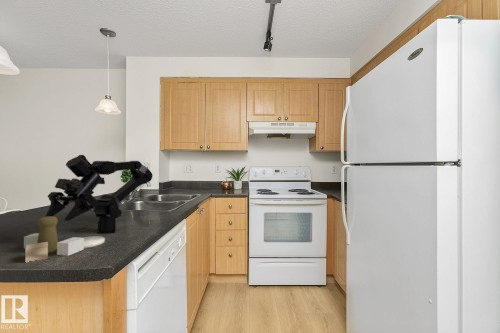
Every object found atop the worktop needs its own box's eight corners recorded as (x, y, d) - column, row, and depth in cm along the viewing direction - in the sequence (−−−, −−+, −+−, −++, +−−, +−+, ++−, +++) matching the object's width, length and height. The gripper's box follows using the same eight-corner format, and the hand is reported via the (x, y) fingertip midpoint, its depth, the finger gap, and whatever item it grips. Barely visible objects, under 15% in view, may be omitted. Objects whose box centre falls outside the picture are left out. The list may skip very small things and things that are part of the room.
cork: (44, 246, 84) (45, 215, 84) (63, 246, 84) (63, 215, 84) (30, 253, 78) (31, 218, 78) (50, 252, 78) (51, 218, 78)
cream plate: (108, 238, 95) (108, 235, 95) (98, 247, 84) (98, 244, 84) (76, 239, 92) (76, 237, 92) (61, 249, 82) (61, 246, 82)
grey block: (73, 248, 83) (73, 237, 83) (83, 249, 82) (83, 237, 82) (56, 255, 77) (57, 242, 77) (68, 256, 76) (68, 243, 76)
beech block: (47, 254, 78) (47, 241, 78) (47, 259, 74) (47, 245, 74) (26, 258, 74) (26, 244, 74) (25, 263, 70) (25, 249, 70)
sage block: (47, 244, 87) (47, 233, 87) (37, 248, 83) (37, 236, 83) (34, 244, 87) (34, 233, 87) (23, 248, 82) (23, 236, 82)
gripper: (53, 170, 91) (17, 203, 81) (91, 171, 86) (58, 207, 75) (73, 189, 99) (43, 222, 88) (110, 191, 94) (82, 226, 83)
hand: (55, 219), depth 84 cm, fingers open, 9 cm apart
